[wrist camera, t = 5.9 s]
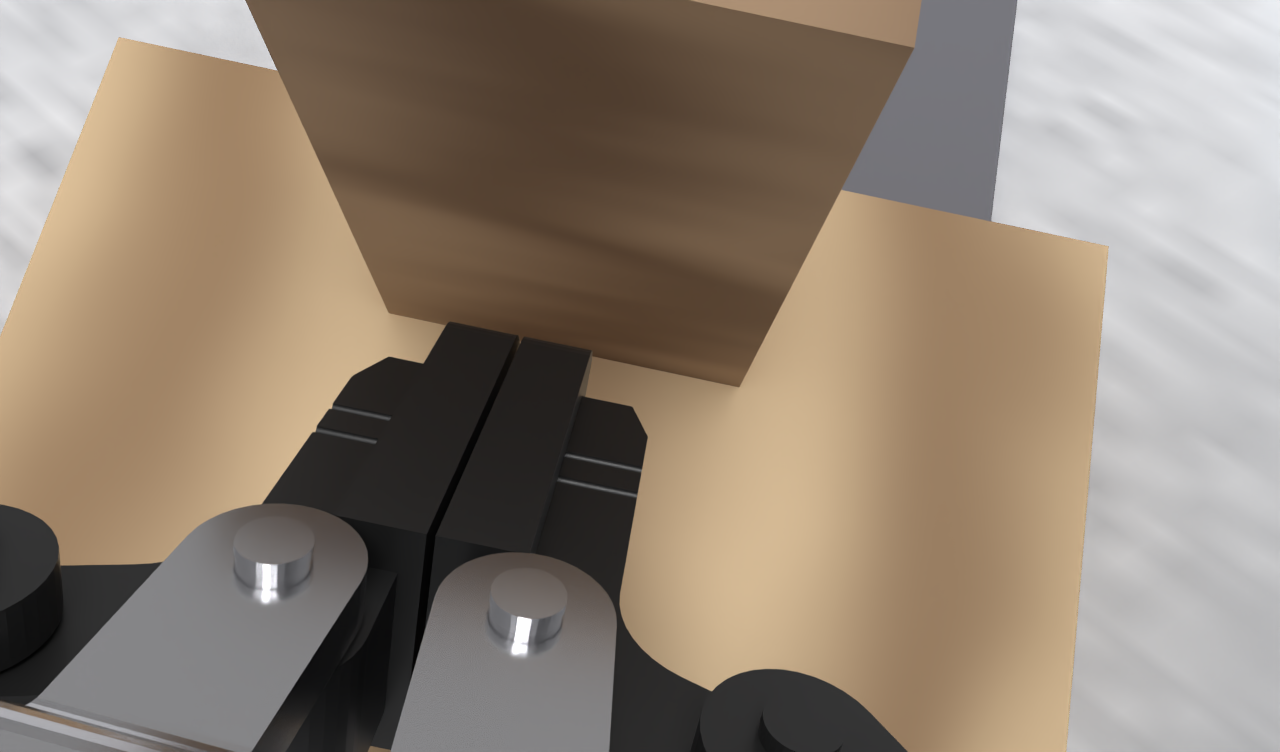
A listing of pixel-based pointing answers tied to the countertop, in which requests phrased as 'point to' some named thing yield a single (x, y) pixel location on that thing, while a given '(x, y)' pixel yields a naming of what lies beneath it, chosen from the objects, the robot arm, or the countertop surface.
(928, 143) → the mat
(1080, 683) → the countertop surface
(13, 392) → the wooden block
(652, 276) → the brown wood brick
